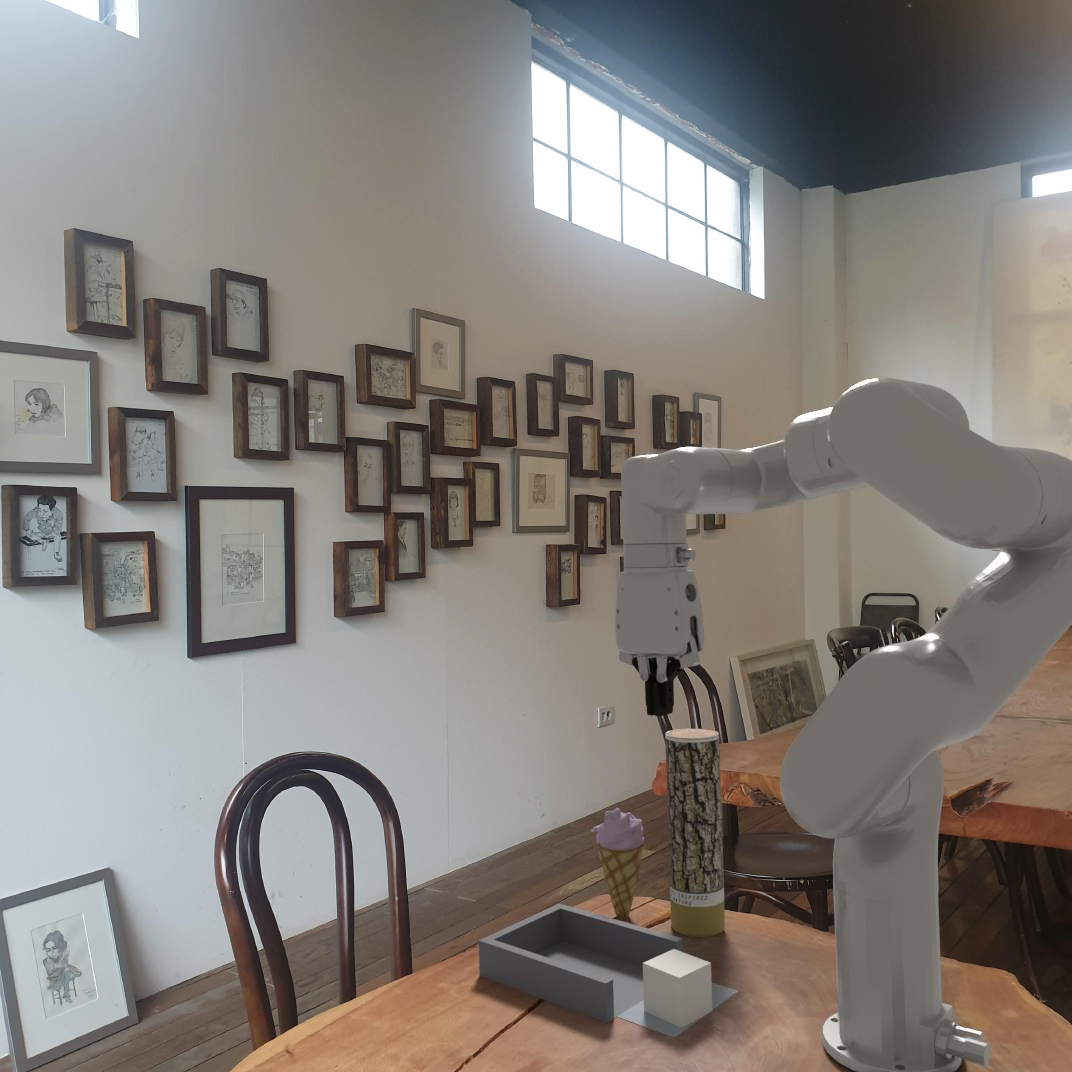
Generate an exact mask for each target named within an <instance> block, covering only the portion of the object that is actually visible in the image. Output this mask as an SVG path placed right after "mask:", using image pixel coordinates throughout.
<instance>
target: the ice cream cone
mask: <svg viewBox="0 0 1072 1072" xmlns="http://www.w3.org/2000/svg"><path fill="white" fill-rule="evenodd" d="M604 815H605V817H604V818H603V822H602V823H600V824H598V825H594V826H593V828H592V829H590V831H591V832H592V833H595V832H596V833H597V834H596V837H595V839H596V845H597V848H598V852H599V854H598V855H599V859H600V861H601V867H602V870H603V875H604V879H605V882H606V886H607V889H608V893H609V896H610V900H611V903H612V906H613V909H614V913H615V916H616V918H617V920H619V919H620V920H626V919H629V918H630V914H631V910H632V906H633V901H634V899H635V898H634V897H635V893H636V888H637V883H638V880H639V873H640V868H641V863H642V858H643V849H644V841H645V837H644V827H643V820H642V819H641V818H637V817H635V815H633V814H632V812H630V811H629V812H627V813H626V812H622V811H621V810H620V808H619V807H616V808H615V809H613V810H607V811H605V812H604Z"/></svg>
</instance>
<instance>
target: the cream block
mask: <svg viewBox="0 0 1072 1072" xmlns="http://www.w3.org/2000/svg"><path fill="white" fill-rule="evenodd" d="M711 982H712V963H711V962H710V961H707V960H704V959H702V958H700V957H697V956H694V955H692V954H691V955H690V954H689V953H686V952H684V951H683V952H681V951H678V950H675V949H673V950H670V951H668V952H666V953H664V954H662V955H659V956H657V957H655V958H653V959H650V960H648V961H646V962H644V963H643V993H644V1011H645V1012H647V1013H649V1014H651V1015H654V1016H656V1017H658V1018H660V1019H662V1020H665V1021H667V1022H669V1023H671V1024H674V1025H676V1026H678V1027H680V1028H682V1027H684V1026H686V1025H688V1024H690V1023H691V1022H693V1021H695V1020H697V1019H699V1018H701V1017H703V1016H704V1015H706V1014H707V1015H709V1014H710V1013H711V1012H713V1010H712V983H713V982H712V983H711ZM707 1015H706V1016H707ZM704 1017H705V1016H704ZM704 1017H703V1018H704ZM701 1019H702V1018H701Z"/></svg>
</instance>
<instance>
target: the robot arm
mask: <svg viewBox="0 0 1072 1072" xmlns="http://www.w3.org/2000/svg"><path fill="white" fill-rule="evenodd" d="M620 470H621V471H620V473H621V475H620V477H621V479H620V480H621V481H620V483H621V511H622V515H621V516H622V544H623V545H622V547H623V548H622V550H623V554H622V555H623V571H620V573H619V578H618V584H617V590H616V592H617V593H616V600H615V601H616V602H615V619H614V621H615V623H614V624H615V627H614V629H615V641H616V642H615V643H616V646H617V649H618V650H619V655H618V658H619V661H620V662H621V663H625V664H627V665H631V666H633V667H634V669H635V670H636V671H637V673H638V674H639V678H640V680H641V681H642V682H644V692H645V695H644V698H645V706H646V715H647V716H651V717H652V716H655V717H663V716H668V715H670V714H671V715H672V714H673V712H674V706H675V689H674V688H675V687H674V686H675V685H674V681H676V680H677V679H678V677H679V674H681V672H682V671H683V670H684V669H687V668H689V667H696V666H699V665H700V663H701V659H700V656H699V653H700V652H701V651H703V649H704V648H705V626H704V616H703V609H702V602H701V601H702V600H701V594H700V589H699V584H698V582H697V578H696V573H695V570H688V566H689V561H694V560H695V559H696V555H697V554H696V551H695V549H694V548H688V547H689V545H688V543H687V542H688V538H687V537H688V536H687V515H742V514H744V515H745V514H749V513H756V512H761V511H767V510H768V511H769V510H772V509H778V508H782V507H788V506H792V505H796V504H800V503H803V502H807V501H811V500H816V499H818V498H820V497H823V496H828V495H833V494H838V493H843V492H848V491H853V490H858V489H862V488H867V487H871V488H873V490H875V491H876V492H878V493H879V494H881V495H882V496H884V497H885V498H887V499H888V500H889V501H891V502H893V504H895V505H896V506H898V507H899V508H900V509H902V510H904V511H905V512H907V513H908V514H909V515H911V516H912V517H913V518H914V519H917V520H918V521H919V522H921V523H922V524H923V525H925V526H926V527H928V528H929V529H930V530H932V531H933V532H935V533H937V534H938V535H939V536H942V537H943V538H945V539H947V540H949V541H951V542H953V543H955V544H957V545H961V546H964V547H967V548H970V549H976V550H977V549H979V550H999V551H998V552H997V554H996V555H995V556H994V558H993V559H992V560H991V561H990V562H989V563H988V564H987V565H985V567H984V568H983V569H981V571H979V573H977V574H976V575H975V576H974V577H973V578H972V579H971V580H970V581H969V582H968V583H967V584H966V585H965V586H964V587H963V588H962V590H961V591H960V592H959V593H958V595H957V596H956V598H955V599H954V601H953V602H952V603H951V605H950V606H949V607H948V608H947V609H946V611H945V612H944V614H942V615H941V617H940V618H939V619H938V620H937V622H936V623H934V625H933V626H932V627H931V628H930V629H928V631H926V633H924V634H923V635H922V636H920V637H917V638H914V639H911V640H908V641H901V642H896V643H892V644H891V643H890V644H888V645H884V646H882V647H879V648H878V647H877V648H876V649H873V650H871V651H870V652H868V653H866V654H865V655H863V656H862V657H861V658H860V659H858V660H857V661H856V662H855V663H853V665H851V666H850V667H849V668H848V669H847V670H846V671H845V673H844V674H843V675H842V676H841V678H840V679H839V680H838V681H837V683H836V684H835V685H834V687H833V688H832V689H831V690H830V692H829V693H828V694H827V696H826V697H825V699H824V700H823V701H822V703H821V704H820V705H819V707H818V708H817V709H816V711H815V712H814V713H813V715H812V716H811V717H810V719H808V721H807V722H806V724H805V725H804V726H803V727H802V728H801V730H800V732H799V733H798V734H797V735H796V737H794V739H793V741H792V742H791V744H790V746H789V747H788V749H787V751H786V753H785V756H784V757H783V760H782V762H781V763H782V764H781V766H780V767H781V768H780V773H779V789H780V790H779V791H780V795H781V800H782V802H783V805H784V807H785V809H786V811H787V813H788V814H789V816H790V817H791V818H792V819H793V821H794V822H795V823H796V824H797V825H798V826H799V827H800V828H802V829H803V830H805V831H807V832H808V833H809V834H812V835H814V836H818V837H821V838H825V839H833V840H834V845H833V858H832V872H833V873H832V874H833V875H832V876H833V877H832V878H833V880H832V881H833V882H832V884H833V885H832V886H833V914H834V917H833V919H834V941H835V942H834V946H835V947H834V948H835V969H836V971H835V977H836V1004H837V1005H836V1006H837V1012H836V1013H834V1014H832V1015H830V1016H828V1018H827V1019H826V1020H825V1021H823V1022H824V1023H823V1024H822V1026H821V1041H822V1046H823V1047H824V1050H825V1051H826V1053H828V1054H829V1055H830V1056H831V1058H833V1060H834V1061H836V1062H838V1063H839V1064H841V1065H842V1066H843V1067H846V1068H847V1069H850V1070H851V1071H853V1072H956V1071H957V1070H959V1068H960V1066H961V1065H962V1060H963V1059H964V1060H965V1061H966V1062H970V1063H972V1064H975V1065H979V1066H982V1067H986V1068H987V1067H988V1066H989V1064H990V1059H991V1045H990V1044H989V1043H988V1042H985V1034H984V1032H983V1031H982V1030H977V1029H974V1028H970V1027H964V1026H961V1025H959V1023H958V1022H957V1021H956V1020H955V1021H954V1018H953V1015H954V1014H953V1012H954V1011H953V1005H951V1004H948V1003H945V1002H944V1003H943V1000H942V999H943V997H942V995H943V994H942V993H943V992H942V971H941V970H942V969H941V968H942V967H941V944H940V943H941V941H940V940H941V939H940V917H939V916H940V913H939V867H938V866H939V863H938V862H939V861H938V860H939V859H938V857H939V855H938V854H939V849H938V848H939V831H940V823H941V822H940V821H941V814H942V807H943V799H944V789H945V787H944V785H945V777H944V766H943V762H942V759H941V755H940V753H939V750H940V749H942V748H946V747H949V746H952V745H954V744H957V743H960V742H963V741H965V740H966V741H967V740H969V739H971V738H973V737H974V736H976V735H978V734H979V733H980V732H981V731H983V730H984V729H985V728H986V727H987V726H988V725H989V723H990V722H991V721H992V720H993V719H994V718H995V716H996V715H997V714H998V713H999V711H1000V710H1001V708H1002V707H1003V706H1004V705H1005V704H1006V703H1007V701H1008V700H1009V698H1011V697H1012V695H1013V694H1014V693H1015V692H1016V691H1017V690H1018V688H1020V686H1021V685H1022V684H1023V683H1024V681H1026V679H1027V678H1028V677H1029V676H1030V675H1031V674H1032V673H1033V671H1034V670H1035V669H1036V668H1037V666H1038V665H1039V664H1040V663H1041V661H1042V660H1043V659H1044V658H1045V656H1047V654H1048V653H1049V651H1050V650H1051V649H1052V648H1053V647H1054V645H1056V644H1057V642H1058V641H1059V640H1060V639H1061V637H1063V635H1064V634H1065V633H1066V631H1067V630H1069V629H1070V627H1071V626H1072V460H1071V459H1069V458H1068V457H1066V456H1063V455H1061V454H1058V453H1055V452H1052V451H1048V450H1044V449H1039V448H1038V449H1037V448H1027V447H1015V446H1006V445H998V444H996V443H994V442H992V441H990V440H988V439H987V438H986V437H984V436H981V435H980V434H978V433H976V432H975V431H973V430H971V429H970V421H969V418H968V415H967V412H966V410H965V408H964V406H963V405H962V403H961V402H960V401H959V400H958V399H957V397H955V396H954V395H953V394H952V393H949V392H948V391H947V390H945V389H943V388H941V387H938V386H936V385H932V384H927V383H923V382H915V381H911V380H910V381H909V380H904V379H900V378H893V377H875V378H870V379H869V378H868V379H866V380H863V381H860V382H858V383H856V384H854V385H852V386H851V387H849V388H848V389H847V390H845V391H844V392H843V393H842V394H841V395H840V396H839V397H838V398H837V399H836V401H835V402H834V404H833V405H832V407H828V408H823V409H821V410H816V411H813V412H808V413H805V414H801V415H799V416H797V417H796V418H795V419H794V420H793V421H791V422H790V424H789V425H788V427H787V429H786V431H785V434H784V439H783V440H779V441H777V442H776V441H775V442H772V443H768V444H765V445H761V446H756V447H751V448H746V449H731V448H730V449H729V448H721V447H720V448H718V447H717V448H716V447H699V446H685V447H684V446H683V447H678V448H675V449H671V450H668V451H665V452H663V453H659V454H645V455H637V456H631V457H629V458H627V459H625V460H624V461H623V463H622V465H621V468H620Z"/></svg>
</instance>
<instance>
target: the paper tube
mask: <svg viewBox="0 0 1072 1072" xmlns="http://www.w3.org/2000/svg"><path fill="white" fill-rule="evenodd" d="M664 741H665V746H664V747H665V775H666V778H665V779H666V803H667V804H666V805H667V835H668V837H667V838H668V839H667V841H668V873H669V874H668V875H669V898H670V926H671V928H672V929H673V931H675V932H676V933H679V934H681V935H683V936H687V937H692V938H693V937H694V938H706V937H707V938H708V937H714V936H717V935H719V934H722V933H723V932H724V930H725V927H726V922H725V921H726V918H725V917H726V915H725V914H726V913H725V883H724V882H725V880H724V878H725V877H724V851H723V850H724V849H723V848H724V846H723V826H722V825H723V819H722V817H723V816H722V815H723V814H722V786H721V785H722V784H721V758H720V757H721V756H720V755H721V754H720V752H721V751H720V736H719V732H718V731H715V730H712V729H706V728H678V729H672V730H668V731H666V732H665V740H664Z"/></svg>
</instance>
